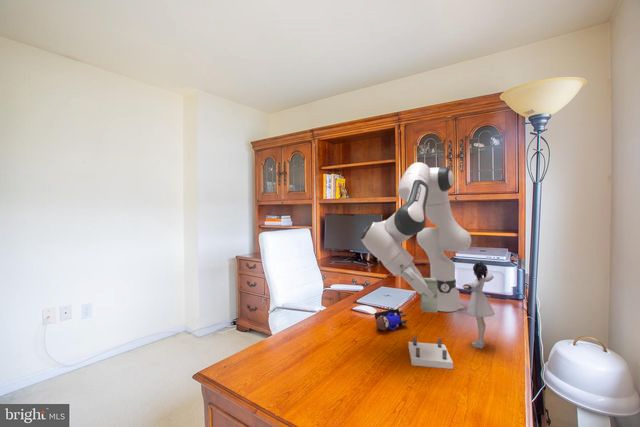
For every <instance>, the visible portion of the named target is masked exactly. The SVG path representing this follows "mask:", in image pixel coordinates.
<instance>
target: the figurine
mask: <svg viewBox="0 0 640 427" xmlns="http://www.w3.org/2000/svg"><path fill="white" fill-rule="evenodd" d="M472 270H473V274H474V277H475V276H476V279H475V280H474V281H472V282H468V283H467V284H466V283H465V284H463V285H462V286H461V288H463V290H464V291H466V292H468V293H469V292H470V293H471V294H470V299H469V303H468V308H467V311H466V314H467V315H469V316H470V317H473V318H475V320H476V323H477V331H478V333H477V334H478V335H477V336H478V338H477V340H474V341H472V342H471V346H472V347H473V348H477V349H483V348H484V347H485V338H484V337H485V331H486V322H485V319H484V318H488V317H489V318H490V317H493V316H495V314H496V313H495V310H494V309H493V307H492V305H491V303H490V302H489V299H488V298H487V296H486V295H485V293H484V292H483V288H484V286H485V283H489V282H491V281H492V280H493V279H494V275H493V274H491V273H488V267H487V265H486V264H484V263H483V262H482V261H480V262H476V263H474V264H473V267H472Z"/></svg>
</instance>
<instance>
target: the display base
mask: <svg viewBox="0 0 640 427" xmlns="http://www.w3.org/2000/svg"><path fill="white" fill-rule="evenodd" d="M412 339H413V341H408V350H409V351H408V352H409V357H410V358H409V359H410V361H411V366H416V367H417V366H418V367H425V368H426V367H427V368H438V369H446V370H447V369H448V370H454V362H453V360H452V358H451V356H450V354H449V351H448V349H447V347H446V344H442V339H441V338H437V343H429V342H418V337H417V336H413V338H412Z"/></svg>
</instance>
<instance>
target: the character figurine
mask: <svg viewBox="0 0 640 427" xmlns="http://www.w3.org/2000/svg"><path fill="white" fill-rule="evenodd" d="M406 316H407V314H406V313H404V312H403V311H402V310H401V311H400V309H399V308H397V309H388V310H384V311H380V312H376V313H374V318H375V325H376V327H377V331H378V332H380V331H385V330H388V329H390V330H392V331H393V332H395V331H396V329H397V328H399V327H404V326H403V325H406V324H407V323H408V321H409V320H408V319H403V320H402V317H406Z"/></svg>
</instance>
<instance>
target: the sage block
mask: <svg viewBox="0 0 640 427" xmlns="http://www.w3.org/2000/svg"><path fill="white" fill-rule="evenodd" d="M423 279H424V280H425V282H426V284H427V286H428V288H429V289H430V290H431V291H432V292H433V293H434V296H433V297H432V298H429V297H428V296H427V295H426V294H425V293H422V294H420V309H421V310H422V312H424V313H438V310H437V280H436V279H435V278H430V277H423Z"/></svg>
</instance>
